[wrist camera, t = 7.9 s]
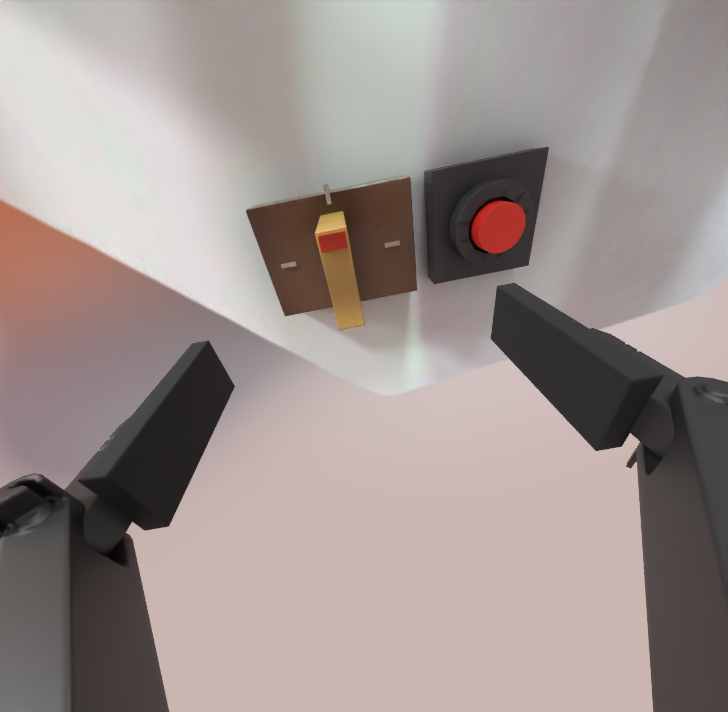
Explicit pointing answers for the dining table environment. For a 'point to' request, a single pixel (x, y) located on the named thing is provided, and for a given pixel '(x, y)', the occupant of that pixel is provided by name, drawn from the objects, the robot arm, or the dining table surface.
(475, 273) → the button box
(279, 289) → the panel
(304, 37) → the dining table surface
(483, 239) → the button
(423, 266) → the dining table surface
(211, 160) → the dining table surface
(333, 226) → the lock handle
